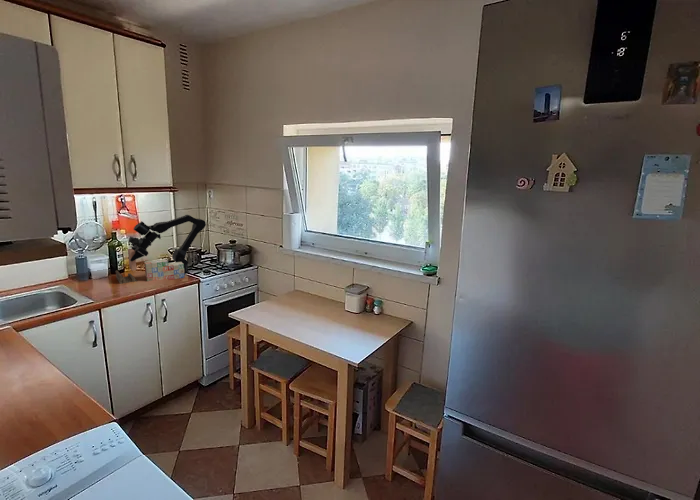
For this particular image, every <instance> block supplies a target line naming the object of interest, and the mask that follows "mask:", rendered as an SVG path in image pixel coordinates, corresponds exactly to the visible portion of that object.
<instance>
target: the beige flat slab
mask: <svg viewBox="0 0 700 500" xmlns="http://www.w3.org/2000/svg"><path fill="white" fill-rule="evenodd" d="M134 254H135V251H134V250H133V249H132V248H128V249H127V255H128V256H127V258H128V257H129V259H128V264H129V269H130V270H131V271H137V261H136V260H137V259H136V260H134V261H130V260H131V258H132V257H133V255H134Z"/></svg>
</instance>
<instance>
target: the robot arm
mask: <svg viewBox="0 0 700 500" xmlns="http://www.w3.org/2000/svg"><path fill="white" fill-rule="evenodd" d="M188 222H190V223H191V224H192V227H191V230H190V231H189V233H188V235H187V236H186V239H184V241H183V243H181V246H180V248H178V249H177V248H175V249H174V252H173V253H172V260H173V261H175V262H182V263H183V264H184V275H186V274H189V273H190V271H189V269H188V268H189V267H188V264H189V261H188V260H187V259H186V257H187V252H188V250H189V248H190V247H191V245H192V243H193V242H194V241H195V239H196V237H197V236H198V234H199V233H201V232H202V231H203V229H205V228H206V226H207V222H206V221H205V220H204V219H201V218H196V217H193V216H192V215H190V214H184V215H183V216H180V217H177V218H173V219H170V220H168V221H160V222H155V223H153V224H152V225H147V224H146V223H145V222H144V221H141V220H140V222H138V223H137V224H135V225H134V227H133V231H134V232H136V233H138V235H141V236H143V237H140V238H138V237H134V236H129V238H128V241H127V242H128V243H130V245H131V248H130V249H133V250H134V251H135V254H134V255H133V257H132V258H131V260H130V261H134V260H139V259H140V258H141V259H142V257H147V256H148V255H149V251H148V248H149V247H151V246H152V243H153V242H154V241H155V240H156V239H157V238H158V239H159V240H162V239H161V234H163V233H165V232H166V231H168V230H169V229H171V228H174V227H177V226H180V225H182V224H186V223H188ZM127 259H128V260H129V257H128V256H127ZM188 272H189V273H188Z"/></svg>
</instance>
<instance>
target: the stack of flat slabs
mask: <svg viewBox="0 0 700 500" xmlns="http://www.w3.org/2000/svg"><path fill="white" fill-rule="evenodd" d="M115 277H116V278H115V279H116V281H118V282H119V284H120V285H122V284H127V283H128V284H129V283H134V282H135V283H136V282H138V280H137V279H136V278H135V276H133V275H132V273H131V272H129V273H127V276H123V275H122V274H121V273H120V272H119V271H118V270H115Z"/></svg>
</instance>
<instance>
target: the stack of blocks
mask: <svg viewBox="0 0 700 500" xmlns="http://www.w3.org/2000/svg"><path fill="white" fill-rule="evenodd" d="M143 263H144V264H143V265H144V273H145V274H144V275H145V280H146V282H152V281H159V280H161V281H162V280H168V281H171V280H176V279H177V280H178V279H184V278H185V275H186V274H184V264H183V263H182V262H176V261H175V262H169V261H168V260H167V259H166V258H163V259H162V258H161V259H156V260H146V261H143Z"/></svg>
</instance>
